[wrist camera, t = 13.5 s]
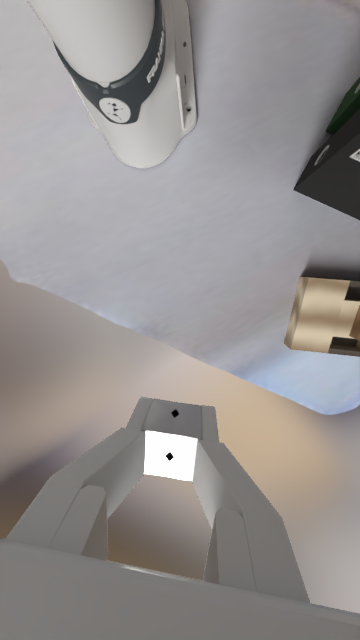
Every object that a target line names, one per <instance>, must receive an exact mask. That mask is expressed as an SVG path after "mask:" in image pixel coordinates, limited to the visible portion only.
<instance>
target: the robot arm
mask: <svg viewBox="0 0 360 640" xmlns="http://www.w3.org/2000/svg"><path fill="white" fill-rule="evenodd" d="M26 1H27V3H28V4H29V5H30V7H31V8H32V10H33V11H34V13H35V14H36V16H37V17H38V19H39V20H40V22H41V23H42V24H43V26H44V27H45V29H46V30H47V32H48V33H49V35H50V37H51V38H52V40H53V43H54V45H55V48H56V51H57V53H58V55H59V57H60V59H61V60H62V62H63V64H64V67H65V68H66V70H67V72H68V74H69V75H70V77H71V79H72V82H73V84H74V86H75V88H76V90H77V92H78V93H79V95H80V97H81V99H82V101H83V102H84V104H85V106H86V108H87V109H88V119H89V121H90V122H91V124H92V126H93V127H94V128H95V129H96V130H97V131H98V132H100V133H101V134H102V135H103V136H104V137H105V139H106V141H107V143H108V145H109V147H110V148H111V150H112V151H113V153H114V154H115V155H116V156H117V157H118V158H119V159H120V160H121V161H123V162H124V163H126V164H127V165H130V166H132V167H136V168H149V167H153V166H155V165H158V164H159V163H161V162H163V161H164V160H165V159H166V158H167V157H168V156H169V155H170V154H171V153H172V152H173V150H174V149H175V147H176V146H177V144H178V143H179V141H180V140H181V138H182V137H183V136H185V135H186V134H188V133H189V132H190V131H191V130H192V129H193V128H194V127H195V126H196V123H197V111H196V98H195V85H194V72H193V59H192V46H191V33H190V20H189V11H188V5H187V2H186V1H185V0H26ZM188 109H190V110H191V111H190V112H187V110H188ZM144 474H152V475H160V476H166V477H172V478H177V479H182V480H187V481H192V484H193V486H194V488H195V491H196V493H197V496H198V498H199V501H200V503H201V505H202V508H203V510H204V512H205V515H206V517H207V520H208V522H209V524H210V527H211V529H212V534H211V540H210V545H209V550H208V556H207V561H206V566H205V571H204V581H202V580H197V579H192V578H188V577H183V576H178V575H173V574H169V573H164V572H159V571H154V570H150V569H145V568H140V567H135V566H130V565H125V564H121V563H116V562H112V561H107V557H108V537H107V519H108V518H109V517H110V515H111V514H112V513H113V512H114V511H115V509H116V508H117V507H118V506H119V504H120V503H121V502H122V501H123V500H124V499H125V497H126V496H127V495H128V494H129V492H130V491H131V490H132V489H133V487H134V486H135V485H136V484H137V483H138V482H139V481H140V479H141V478H142V477H143V476H144ZM0 640H360V614H359V613H353V612H349V611H345V610H340V609H335V608H330V607H325V606H321V605H316V604H311V603H310V601H309V598H308V595H307V592H306V589H305V586H304V583H303V580H302V577H301V574H300V571H299V568H298V565H297V562H296V559H295V556H294V553H293V550H292V547H291V543H290V541H289V538H288V534H287V531H286V528H285V525H284V522H283V519H282V517H281V516H280V515H279V513H278V512H277V511H276V510H275V508H274V507H273V506H272V505H271V503H270V502H269V501H268V499H267V498H266V497H265V496H264V494H263V493H262V492H261V490H260V489H259V488H258V487H257V485H256V484H255V483H254V482H253V480H252V479H251V478H250V476H249V475H248V474H247V473H246V471H245V470H244V469H243V468H242V466H241V465H240V464H239V462H238V461H237V460H236V459H235V457H234V456H233V455H232V454H231V452H230V451H229V450H228V448H227V447H226V446H225V445H224V444H223V443H219V437H218V429H217V421H216V412H215V407H213V406H204V405H202V406H201V405H193V404H185V403H178V402H172V401H166V400H160V399H152V398H146V397H141V398H140V399H139V401H138V403H137V405H136V408H135V410H134V412H133V414H132V416H131V418H130V421H129V423H128V425H127V427H126V428H121V429H119V430H118V431H116V432H115V433H114V434H112V435H111V436H109V437H108V438H106V439H105V440H104V441H102V442H100V443H99V444H97V445H96V446H94V447H93V448H92V449H90V450H89V451H87V452H86V453H84V454H83V455H81V456H80V457H78V458H77V459H75V460H74V461H72V462H71V463H70V464H68V465H67V466H65V467H64V468H62V469H61V470H59V471H58V472H56V473H55V474H53V475H52V476H51V477H50V479H49V480H48V481H47V482H46V484H45V485H44V487H43V488H42V489H41V491H40V492H39V494H38V495H37V496H36V498H35V499H34V501H33V502H32V503H31V505H30V506H29V507H28V509H27V510H26V511H25V513H24V514H23V516H22V517H21V518H20V520H19V521H18V522H17V524H16V525H15V527H14V528H13V529H12V531H11V532H10V533H9V535H8V536H7V538H6V539H2V538H0Z"/></svg>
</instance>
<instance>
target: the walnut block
mask: <svg viewBox="0 0 360 640" xmlns="http://www.w3.org/2000/svg"><path fill="white" fill-rule="evenodd" d="M349 336H350V337H352V338H355V339H357V340H359V341H360V305H359V308H358V311H357V314H356V317H355V320H354V323H353V326H352V329H351V332H350V334H349Z"/></svg>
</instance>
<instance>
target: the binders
mask: <svg viewBox="0 0 360 640" xmlns="http://www.w3.org/2000/svg"><path fill="white" fill-rule="evenodd" d="M326 132H328V133H330V134H332V135H333V136H332V137H331V138H330V139H329V140H328V141H327V142H326V143H325V144H324V145H323V146H322V147H321V148H320V149H319V150H318V151H317V152H316V153H315V154H314V155H313V156H312V157H311V159H310V161H309V162H308V164H307V166H306V168H305V170H304V171H303V173H302V175H301V177H300V179H299V180H298V182H297V184H296V186H295V188H294V190H295V191H297V192H299V193H301V194H304V195H306V196H308V197H310V198H312V199H315V200H317V201H319V202H321V203H323V204H326V205H328V206H330V207H332V208H334V209H337V210H339V211H341V212H343V213H345V214H348V215H350V216H352V217H354V218H356V219H359V220H360V78H359V79H358V80H357V81H356V83H355V84H354V85H353V86H352V87H351V89H350V90H349V91H348V92H347V93H346V95H345V97H344V99H343V101H342V103H341V104H340V106H339V108H338V110H337V112H336V113H335V115H334V117H333V119H332V121H331V122H330V124H329V126H328V128H327V130H326Z"/></svg>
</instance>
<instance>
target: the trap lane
mask: <svg viewBox="0 0 360 640" xmlns="http://www.w3.org/2000/svg"><path fill="white" fill-rule="evenodd" d="M359 305H360V281H348V280H335V279H322V278H310V277H300V280H299V284H298V288H297V292H296V296H295V301H294V305H293V309H292V313H291V317H290V321H289V325H288V330H287V334H286V338H285V342H284V344H285V345H286V346H288V347H289V348H290V349H293V350H303V351H312V352H321V353H331V354H340V355H349V356H359V357H360V341H359V340H357V339H355V338H352V337H350V336H349V334H350V332H351V329H352V326H353V323H354V320H355V317H356V314H357V311H358V308H359Z"/></svg>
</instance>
